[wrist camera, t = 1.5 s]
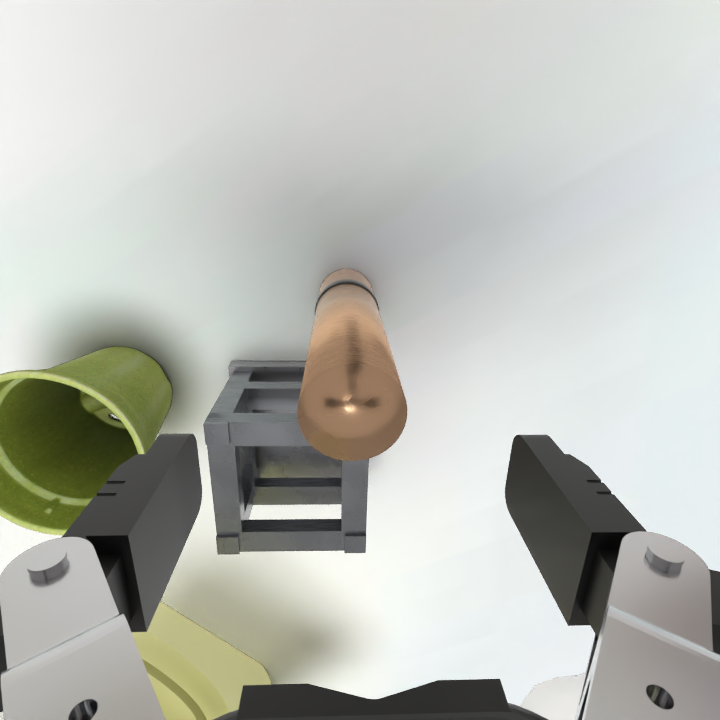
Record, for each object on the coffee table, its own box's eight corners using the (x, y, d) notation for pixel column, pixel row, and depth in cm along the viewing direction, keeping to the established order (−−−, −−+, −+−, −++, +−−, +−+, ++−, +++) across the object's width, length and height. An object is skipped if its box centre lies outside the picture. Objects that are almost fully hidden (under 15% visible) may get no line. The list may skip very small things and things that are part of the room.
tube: (318, 267, 28) (294, 361, 13) (374, 268, 28) (412, 362, 14) (318, 322, 30) (296, 462, 15) (372, 322, 30) (405, 462, 15)
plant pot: (42, 423, 31) (-61, 507, 23) (65, 298, 28) (-44, 344, 20) (177, 464, 33) (125, 555, 25) (213, 349, 30) (166, 411, 22)
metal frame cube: (231, 360, 30) (196, 418, 23) (367, 362, 31) (376, 419, 23) (241, 475, 34) (213, 558, 26) (363, 474, 34) (370, 556, 26)
